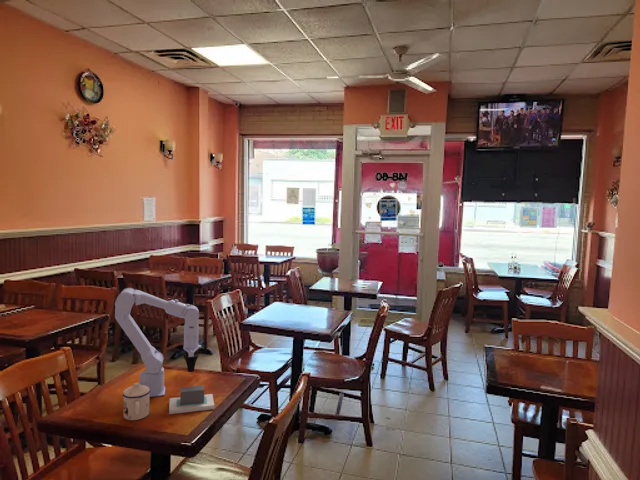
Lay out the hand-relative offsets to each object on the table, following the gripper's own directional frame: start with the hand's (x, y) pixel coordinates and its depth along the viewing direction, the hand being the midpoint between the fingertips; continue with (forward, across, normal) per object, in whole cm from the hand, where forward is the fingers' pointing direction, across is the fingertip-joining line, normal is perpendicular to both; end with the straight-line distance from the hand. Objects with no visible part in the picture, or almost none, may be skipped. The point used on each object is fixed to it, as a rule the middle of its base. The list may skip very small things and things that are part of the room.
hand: (190, 368), depth 175 cm
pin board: (+9, -15, 0) cm, 17 cm away
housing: (+8, -14, 0) cm, 16 cm away
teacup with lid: (+9, -19, +18) cm, 28 cm away
